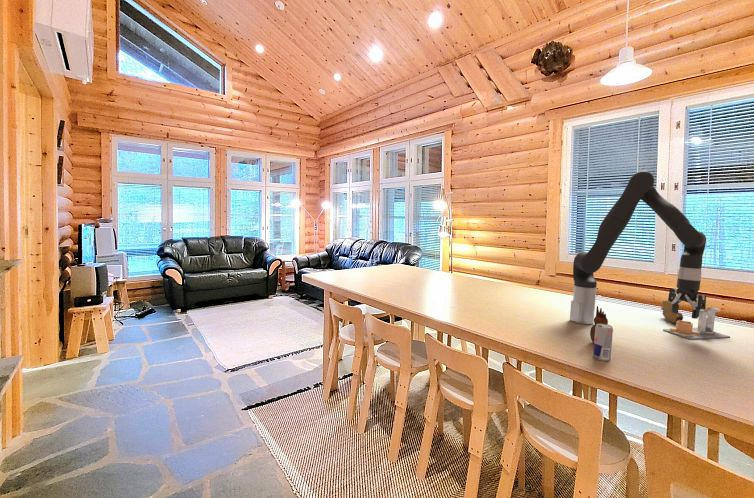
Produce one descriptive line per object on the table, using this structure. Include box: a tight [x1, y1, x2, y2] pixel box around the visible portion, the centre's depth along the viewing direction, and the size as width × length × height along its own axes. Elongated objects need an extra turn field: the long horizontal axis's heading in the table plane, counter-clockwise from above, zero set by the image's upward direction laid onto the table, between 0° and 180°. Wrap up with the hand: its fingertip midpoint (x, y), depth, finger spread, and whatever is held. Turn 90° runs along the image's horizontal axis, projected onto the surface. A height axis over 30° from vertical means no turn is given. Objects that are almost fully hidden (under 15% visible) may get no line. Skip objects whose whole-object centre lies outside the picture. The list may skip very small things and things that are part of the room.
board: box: [662, 327, 731, 341], centre depth 160 cm, size 20×12×1 cm, turn 99°
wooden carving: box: [660, 300, 684, 324], centre depth 177 cm, size 16×5×10 cm, turn 168°
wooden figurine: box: [589, 305, 609, 344], centre depth 145 cm, size 7×6×15 cm
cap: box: [668, 320, 699, 335], centre depth 158 cm, size 10×5×5 cm, turn 60°
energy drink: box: [592, 324, 614, 362], centre depth 131 cm, size 5×5×12 cm
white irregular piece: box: [697, 307, 722, 334], centre depth 160 cm, size 11×5×10 cm, turn 99°
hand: (684, 315), depth 157 cm, fingers open, 8 cm apart
